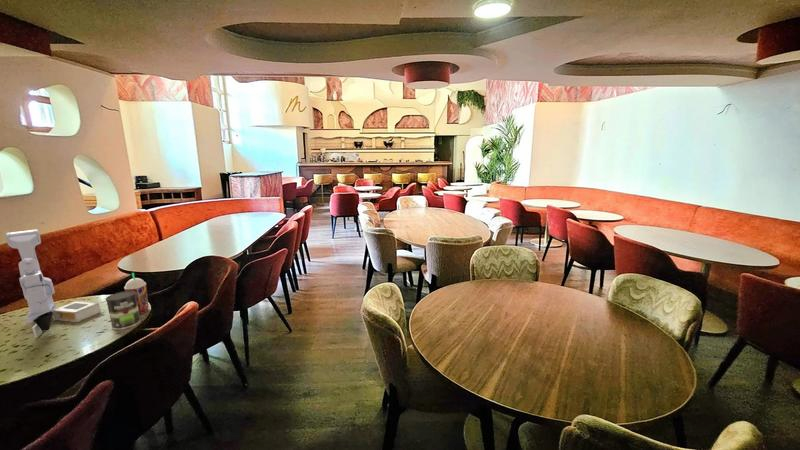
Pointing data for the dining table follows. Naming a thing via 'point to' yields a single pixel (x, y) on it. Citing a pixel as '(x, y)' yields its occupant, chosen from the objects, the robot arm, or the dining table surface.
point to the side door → (37, 330)
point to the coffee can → (123, 310)
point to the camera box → (76, 311)
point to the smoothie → (138, 292)
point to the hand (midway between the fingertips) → (45, 330)
